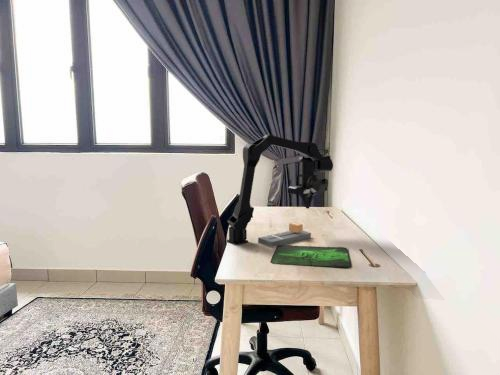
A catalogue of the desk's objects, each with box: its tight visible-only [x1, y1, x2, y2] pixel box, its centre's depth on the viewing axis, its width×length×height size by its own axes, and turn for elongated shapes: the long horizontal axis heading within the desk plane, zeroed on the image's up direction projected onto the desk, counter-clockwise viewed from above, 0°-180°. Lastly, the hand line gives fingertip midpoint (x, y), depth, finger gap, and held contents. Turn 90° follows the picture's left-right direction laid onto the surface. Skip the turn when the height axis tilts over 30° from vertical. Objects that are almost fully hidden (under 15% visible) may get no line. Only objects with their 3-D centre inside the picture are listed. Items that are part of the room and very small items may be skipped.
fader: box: [288, 222, 304, 233], centre depth 159 cm, size 3×5×4 cm
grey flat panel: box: [257, 230, 312, 248], centre depth 156 cm, size 22×8×2 cm, turn 128°
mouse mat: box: [269, 244, 352, 269], centre depth 136 cm, size 27×22×1 cm
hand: (307, 208), depth 162 cm, fingers closed
